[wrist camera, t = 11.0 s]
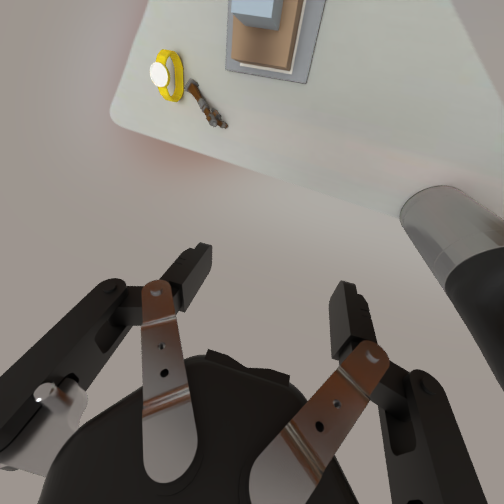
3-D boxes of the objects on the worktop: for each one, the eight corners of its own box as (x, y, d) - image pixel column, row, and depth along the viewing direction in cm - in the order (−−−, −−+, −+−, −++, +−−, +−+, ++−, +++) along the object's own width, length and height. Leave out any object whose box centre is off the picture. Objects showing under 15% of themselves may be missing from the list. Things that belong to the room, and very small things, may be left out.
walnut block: (312, -48, 23) (311, -76, 19) (290, 71, 29) (286, 67, 26) (251, -54, 24) (239, -83, 20) (242, 63, 30) (231, 58, 26)
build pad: (338, -55, 23) (339, -61, 22) (306, 83, 31) (305, 83, 30) (234, -65, 24) (231, -71, 24) (227, 70, 32) (225, 69, 31)
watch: (171, 53, 33) (147, 41, 28) (188, 56, 32) (166, 45, 27) (172, 100, 36) (151, 97, 31) (187, 103, 36) (168, 101, 31)
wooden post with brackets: (226, 135, 37) (208, 129, 33) (202, 98, 37) (182, 88, 33) (232, 127, 36) (215, 120, 32) (208, 89, 36) (188, 77, 32)
